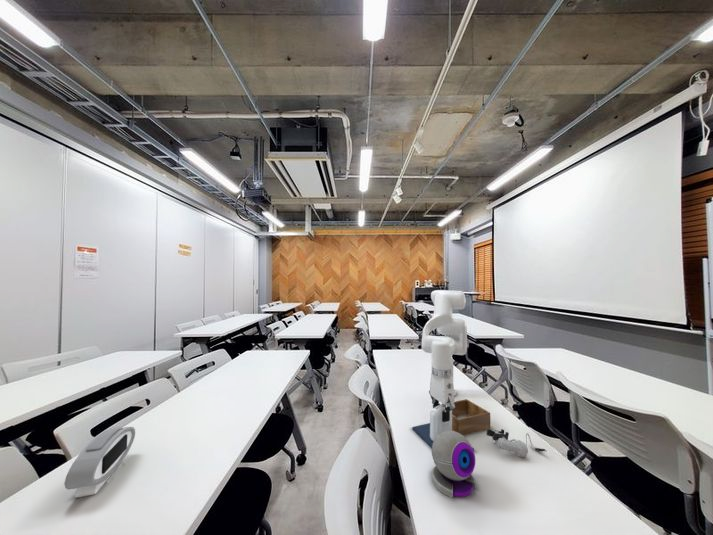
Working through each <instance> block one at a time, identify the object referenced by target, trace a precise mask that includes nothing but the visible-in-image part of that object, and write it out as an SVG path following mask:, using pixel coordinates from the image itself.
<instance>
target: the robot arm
mask: <svg viewBox="0 0 713 535" xmlns="http://www.w3.org/2000/svg"><path fill="white" fill-rule="evenodd" d="M430 299H431V302H432V303H433V317H431V318H430V319H429V320H427V322H426V323H425V324H424V326H423V328H422V334H421V349H422V351H423V352H425V353H427V354H431V374H430V380H429V390H428V394H429V395H430V399H431V404H432V409H433V408H435V407H436V406H438V405H441V404H442V405H443V411H442V421H443V422H447V421H450V411H451V410H452V409H454V408H455V405H454V402H456V401H455V400H456V399H455V396H456V395H457V390H456V389H455V386H454V361H453V359H452V356H453V355H457V356H464V355H466V354H467V352H468V351H467V350H468V328H467V322H466V321H465V320H464V319H462V318H454V317H453V310H464V309H465V308H466V304H467V299H466V295H465V292H464V291H463V290H448V289H436V290H432V292H431V293H430ZM434 330H436V331H437V333H438V334H439V335H430V333H432V331H434ZM446 405H447V407H446Z"/></svg>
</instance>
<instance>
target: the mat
mask: <svg viewBox="0 0 713 535" xmlns="http://www.w3.org/2000/svg"><path fill="white" fill-rule="evenodd" d="M411 430H412V431H414V433H415V434H416V435H418V437H419V438H420V439H421V440H422V441H424V443H426V444H427V446H428V447H430V448H431V449H432V445H433V440H432V439H431V438H430V422H429V423H424V424H420V425H419V424H418V425H416V426H412V429H411ZM472 448H473V451H474V452H475V448H474V447H473V446H472Z"/></svg>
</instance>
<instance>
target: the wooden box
mask: <svg viewBox="0 0 713 535" xmlns="http://www.w3.org/2000/svg"><path fill="white" fill-rule="evenodd" d="M454 405H455V408H454V409H452V431H455V432H458V433H460V434H461V435H463V436H465V435H468V434H474V433H478V432H481V431H485V430H487V429H491V411H488V410H486V409H484V408H482V407H481V406H479V405H477V404H475V403H474V402H473V401H471V400H469V399H461V400H456V401H454ZM464 415H468V416H465V417H461V418H459V417H460V416H464Z"/></svg>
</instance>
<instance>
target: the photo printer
mask: <svg viewBox="0 0 713 535" xmlns="http://www.w3.org/2000/svg"><path fill="white" fill-rule="evenodd" d="M446 407H447V405H446ZM442 411H443V405H442V403H440V405H438V406H436V407H435V408H433V407H432V409H431V410H430V412H429V423H430V438H431V439H432V440H433V441H434V439H435V438H436V436H437V435H438V434H440V433H441V432H443V431H448V430H450V431H452V410H451V411H450V421H447V422H443V421H442Z"/></svg>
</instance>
